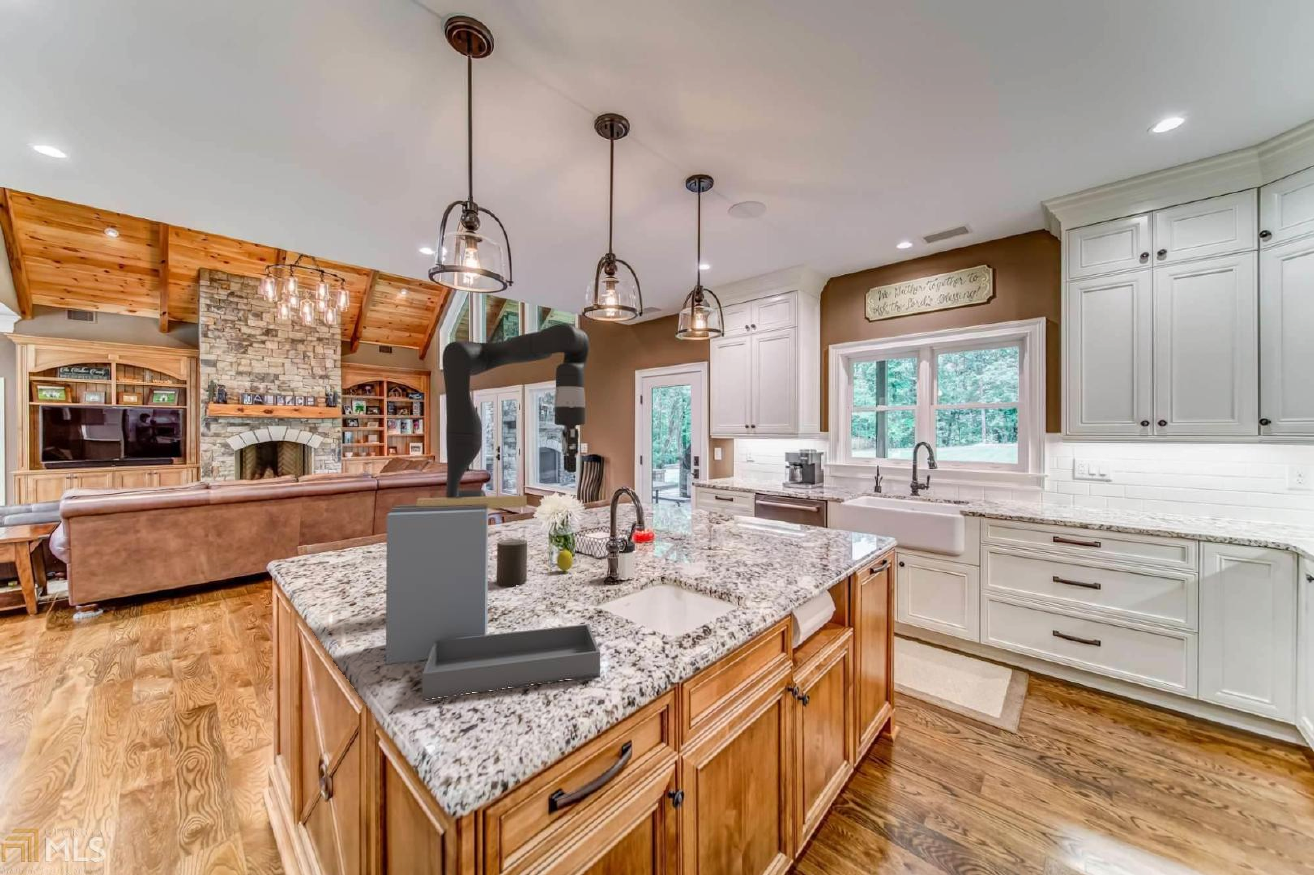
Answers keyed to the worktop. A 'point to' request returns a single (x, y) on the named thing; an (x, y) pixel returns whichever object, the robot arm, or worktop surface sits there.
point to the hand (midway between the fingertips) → (569, 471)
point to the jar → (627, 561)
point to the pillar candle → (511, 562)
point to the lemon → (564, 560)
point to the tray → (509, 660)
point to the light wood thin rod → (475, 501)
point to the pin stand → (434, 577)
